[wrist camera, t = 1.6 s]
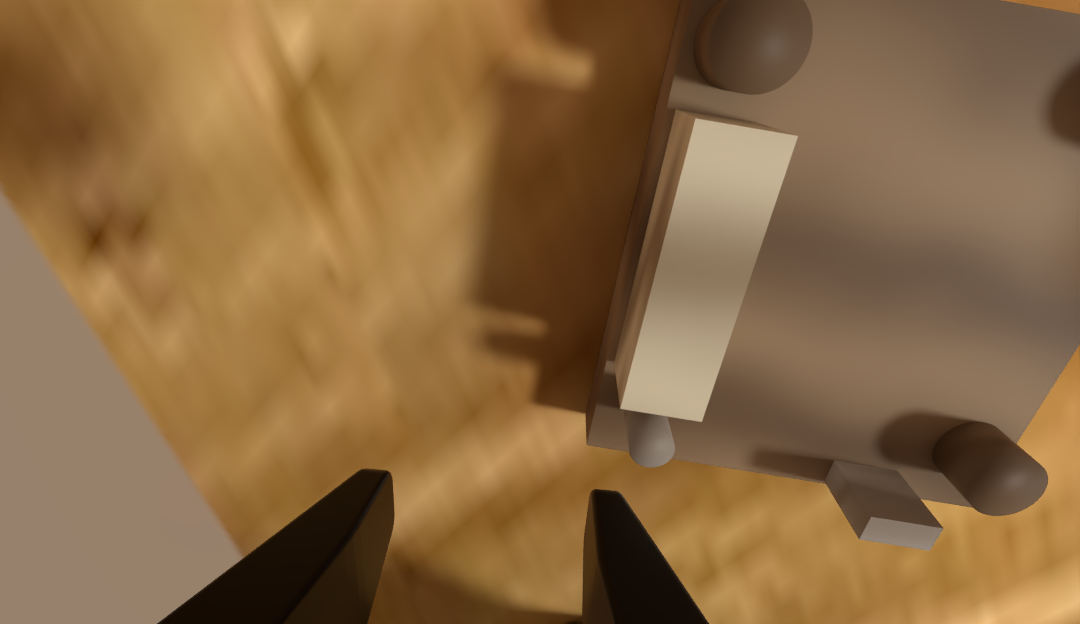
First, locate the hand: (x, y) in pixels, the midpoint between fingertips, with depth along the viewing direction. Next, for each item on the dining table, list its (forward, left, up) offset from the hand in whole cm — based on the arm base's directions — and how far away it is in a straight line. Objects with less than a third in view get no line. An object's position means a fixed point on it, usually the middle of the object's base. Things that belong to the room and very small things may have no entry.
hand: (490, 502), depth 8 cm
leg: (+1, -4, -11) cm, 12 cm away
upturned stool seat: (+1, -11, -13) cm, 17 cm away
